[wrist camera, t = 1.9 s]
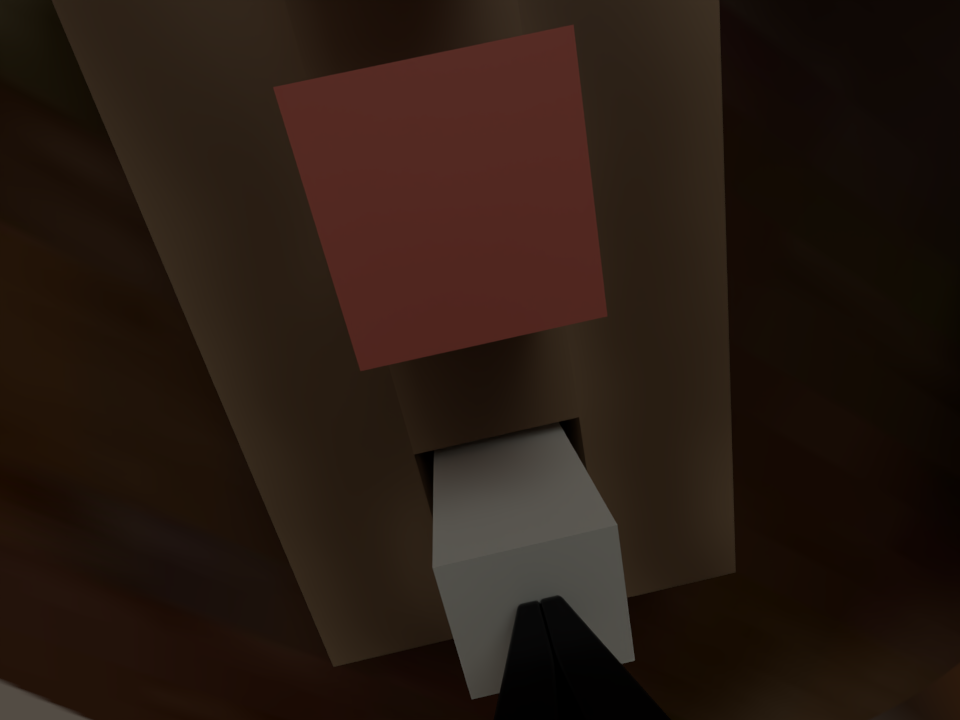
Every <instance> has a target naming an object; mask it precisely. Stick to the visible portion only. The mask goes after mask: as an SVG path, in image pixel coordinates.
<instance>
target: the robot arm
mask: <svg viewBox="0 0 960 720" xmlns="http://www.w3.org/2000/svg"><path fill="white" fill-rule="evenodd" d="M494 720H671V719H670V718H669V717H668V716H667V715H666V714H665V713H664V712H663V710H662V709H661V708H660V707H659V706H658V705H657V704H656V702H655V701H654V700H653V699H652V698H651V697H650V696H649V695H648V693H647V692H646V691H645V690H644V689H643V688H642V687H641V686H640V684H639V683H638V682H637V681H636V680H635V679H634V678H633V676H632V675H631V674H630V673H629V672H628V671H627V670H626V669H625V667H624V666H623V665H622V664H621V663H620V662H619V661H618V660H617V658H616V657H615V656H614V655H613V654H612V653H611V652H610V650H609V649H608V648H607V647H606V646H605V645H604V644H603V643H602V641H601V640H600V639H599V638H598V637H597V636H596V635H595V633H594V632H593V631H592V630H591V629H590V628H589V627H588V626H587V624H586V623H585V622H584V621H583V620H582V619H581V618H580V617H579V615H578V614H577V613H576V612H575V611H574V610H573V609H572V607H571V606H570V605H569V604H568V603H567V602H566V601H565V600H564V598H563V597H561V596H559V595H556V596H552V597H547V598H543V599H542V600H541V601H540V603H539V602H538V601H537V600H535V601H530V602H526V603H522V604H520V605H519V606H518V608H517V611H516V616H515V621H514V626H513V630H512V635H511V640H510V645H509V650H508V654H507V659H506V664H505V669H504V673H503V678H502V683H501V688H500V693H499V697H498V702H497V707H496V712H495V716H494Z"/></svg>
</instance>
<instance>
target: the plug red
mask: <svg viewBox="0 0 960 720" xmlns="http://www.w3.org/2000/svg"><path fill="white" fill-rule="evenodd" d="M273 89H274V92H275V95H276V99H277V102H278V105H279V108H280V112H281V115H282V118H283V121H284V125H285V128H286V131H287V134H288V137H289V141H290V144H291V147H292V150H293V154H294V157H295V160H296V163H297V167H298V170H299V173H300V176H301V180H302V183H303V186H304V189H305V193H306V196H307V199H308V202H309V206H310V209H311V212H312V215H313V219H314V222H315V225H316V228H317V232H318V235H319V238H320V241H321V245H322V248H323V251H324V254H325V258H326V261H327V264H328V267H329V271H330V274H331V277H332V280H333V284H334V287H335V290H336V293H337V297H338V300H339V303H340V306H341V310H342V313H343V316H344V319H345V323H346V326H347V329H348V332H349V336H350V339H351V342H352V345H353V349H354V352H355V355H356V358H357V362H358V365H359V368H360V371H364V370H368V369H373V368H377V367H382V366H386V365H391V364H395V363H400V362H404V361H409V360H413V359H418V358H422V357H427V356H431V355H436V354H440V353H445V352H449V351H454V350H458V349H463V348H467V347H472V346H476V345H481V344H485V343H490V342H494V341H499V340H503V339H508V338H512V337H517V336H521V335H526V334H530V333H535V332H539V331H544V330H548V329H553V328H557V327H562V326H566V325H571V324H575V323H580V322H584V321H589V320H593V319H598V318H602V317H607V308H606V299H605V291H604V282H603V273H602V265H601V256H600V248H599V239H598V230H597V222H596V213H595V205H594V196H593V187H592V179H591V170H590V162H589V153H588V144H587V136H586V127H585V119H584V110H583V101H582V93H581V84H580V76H579V67H578V58H577V50H576V41H575V33H574V25H569V26H564V27H559V28H555V29H550V30H545V31H540V32H535V33H531V34H526V35H521V36H516V37H511V38H507V39H502V40H497V41H492V42H487V43H483V44H478V45H473V46H468V47H463V48H459V49H454V50H449V51H444V52H439V53H435V54H430V55H425V56H420V57H416V58H411V59H406V60H401V61H396V62H392V63H387V64H382V65H377V66H372V67H368V68H363V69H358V70H353V71H348V72H344V73H339V74H334V75H329V76H324V77H320V78H315V79H310V80H305V81H300V82H296V83H291V84H286V85H281V86H276V87H273Z"/></svg>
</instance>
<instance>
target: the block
mask: <svg viewBox="0 0 960 720" xmlns="http://www.w3.org/2000/svg"><path fill="white" fill-rule="evenodd" d="M52 2H53V4H54V7H55V9H56V12H57V14H58V16H59V19H60V21H61V23H62V26H63V28H64V30H65V33H66V35H67V38H68V40H69V42H70V45H71V47H72V49H73V52H74V54H75V56H76V59H77V61H78V64H79V66H80V68H81V71H82V73H83V75H84V78H85V80H86V83H87V85H88V87H89V90H90V92H91V94H92V97H93V99H94V101H95V104H96V106H97V109H98V111H99V113H100V116H101V118H102V120H103V123H104V125H105V127H106V130H107V132H108V135H109V137H110V139H111V142H112V144H113V146H114V149H115V151H116V153H117V156H118V158H119V161H120V163H121V165H122V168H123V170H124V172H125V175H126V177H127V180H128V182H129V184H130V187H131V189H132V191H133V194H134V196H135V198H136V201H137V203H138V206H139V208H140V210H141V213H142V215H143V217H144V220H145V222H146V224H147V227H148V229H149V232H150V234H151V236H152V239H153V241H154V243H155V246H156V248H157V250H158V253H159V255H160V258H161V260H162V262H163V265H164V267H165V269H166V272H167V274H168V276H169V279H170V281H171V284H172V286H173V288H174V291H175V293H176V295H177V298H178V300H179V303H180V305H181V307H182V310H183V312H184V314H185V317H186V319H187V321H188V324H189V326H190V329H191V331H192V333H193V336H194V338H195V340H196V343H197V345H198V347H199V350H200V352H201V355H202V357H203V359H204V362H205V364H206V366H207V369H208V371H209V373H210V376H211V378H212V381H213V383H214V385H215V388H216V390H217V392H218V395H219V397H220V400H221V402H222V404H223V407H224V409H225V411H226V414H227V416H228V418H229V421H230V423H231V426H232V428H233V430H234V433H235V435H236V437H237V440H238V442H239V444H240V447H241V449H242V452H243V454H244V456H245V459H246V461H247V463H248V466H249V468H250V470H251V473H252V475H253V478H254V480H255V482H256V485H257V487H258V489H259V492H260V494H261V497H262V499H263V501H264V504H265V506H266V508H267V511H268V513H269V515H270V518H271V520H272V523H273V525H274V527H275V530H276V532H277V534H278V537H279V539H280V541H281V544H282V546H283V549H284V551H285V553H286V556H287V558H288V560H289V563H290V565H291V567H292V570H293V572H294V575H295V577H296V579H297V582H298V584H299V586H300V589H301V591H302V594H303V596H304V598H305V601H306V603H307V605H308V608H309V610H310V612H311V615H312V617H313V620H314V622H315V624H316V627H317V629H318V631H319V634H320V636H321V638H322V641H323V643H324V646H325V648H326V650H327V653H328V655H329V657H330V660H331V662H332V664H333V667H335V666H339V665H343V664H348V663H352V662H356V661H360V660H365V659H369V658H373V657H377V656H382V655H386V654H390V653H394V652H399V651H403V650H407V649H411V648H416V647H420V646H424V645H428V644H433V643H437V642H441V641H445V640H450V639H453V635H452V632H451V629H450V625H449V622H448V618H447V615H446V612H445V608H444V605H443V602H442V598H441V595H440V592H439V588H438V585H437V581H436V578H435V575H434V571H433V568H432V561H433V478H434V450H436V449H440V448H445V447H449V446H454V445H458V444H463V443H467V442H471V441H476V440H480V439H485V438H489V437H493V436H498V435H502V434H507V433H511V432H515V431H520V430H524V429H529V428H533V427H538V426H542V425H546V424H551V423H555V422H559V424H560V426H561V427H562V429H563V431H564V432H565V434H566V436H567V438H568V439H569V441H570V443H571V445H572V446H573V448H574V450H575V452H576V453H577V455H578V457H579V459H580V460H581V462H582V464H583V466H584V467H585V469H586V471H587V473H588V474H589V476H590V478H591V480H592V481H593V483H594V485H595V487H596V488H597V490H598V492H599V494H600V495H601V497H602V499H603V501H604V502H605V504H606V506H607V508H608V509H609V511H610V513H611V515H612V516H613V518H614V520H615V521H616V523H617V525H618V533H619V541H620V549H621V556H622V564H623V572H624V580H625V588H626V595H627V598H628V597H632V596H637V595H641V594H645V593H649V592H654V591H658V590H662V589H666V588H671V587H675V586H679V585H683V584H688V583H692V582H696V581H700V580H705V579H709V578H713V577H717V576H722V575H726V574H730V573H734V572H736V571H735V536H734V501H733V466H732V431H731V396H730V361H729V326H728V291H727V256H726V221H725V186H724V151H723V116H722V81H721V46H720V11H719V0H52ZM569 25H574V33H575V41H576V50H577V58H578V67H579V76H580V84H581V93H582V101H583V110H584V119H585V127H586V136H587V144H588V153H589V162H590V170H591V179H592V187H593V196H594V205H595V213H596V222H597V230H598V239H599V248H600V256H601V265H602V273H603V282H604V291H605V299H606V308H607V317H602V318H598V319H593V320H589V321H584V322H580V323H575V324H571V325H566V326H562V327H557V328H553V329H548V330H544V331H539V332H535V333H530V334H526V335H521V336H517V337H512V338H508V339H503V340H499V341H494V342H490V343H485V344H481V345H476V346H472V347H467V348H463V349H458V350H454V351H449V352H445V353H440V354H436V355H431V356H427V357H422V358H418V359H413V360H409V361H404V362H400V363H395V364H391V365H386V366H382V367H377V368H373V369H368V370H364V371H360V368H359V365H358V362H357V358H356V355H355V352H354V349H353V345H352V342H351V339H350V336H349V332H348V329H347V326H346V323H345V319H344V316H343V313H342V310H341V306H340V303H339V300H338V297H337V293H336V290H335V287H334V284H333V280H332V277H331V274H330V271H329V267H328V264H327V261H326V258H325V254H324V251H323V248H322V245H321V241H320V238H319V235H318V232H317V228H316V225H315V222H314V219H313V215H312V212H311V209H310V206H309V202H308V199H307V196H306V193H305V189H304V186H303V183H302V180H301V176H300V173H299V170H298V167H297V163H296V160H295V157H294V154H293V150H292V147H291V144H290V141H289V137H288V134H287V131H286V128H285V125H284V121H283V118H282V115H281V112H280V108H279V105H278V102H277V99H276V95H275V92H274V89H273V87H276V86H281V85H286V84H291V83H296V82H300V81H305V80H310V79H315V78H320V77H324V76H329V75H334V74H339V73H344V72H348V71H353V70H358V69H363V68H368V67H372V66H377V65H382V64H387V63H392V62H396V61H401V60H406V59H411V58H416V57H420V56H425V55H430V54H435V53H439V52H444V51H449V50H454V49H459V48H463V47H468V46H473V45H478V44H483V43H487V42H492V41H497V40H502V39H507V38H511V37H516V36H521V35H526V34H531V33H535V32H540V31H545V30H550V29H555V28H559V27H564V26H569Z"/></svg>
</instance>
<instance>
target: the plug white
mask: <svg viewBox="0 0 960 720" xmlns="http://www.w3.org/2000/svg"><path fill="white" fill-rule="evenodd" d="M432 568H433V571H434V575H435V578H436V581H437V585H438V588H439V592H440V595H441V598H442V602H443V605H444V608H445V612H446V615H447V618H448V622H449V625H450V629H451V632H452V635H453V639H454V642H455V645H456V649H457V652H458V655H459V659H460V662H461V665H462V669H463V672H464V676H465V679H466V682H467V686H468V689H469V692H470V696H471V699H476V698H480V697H484V696H488V695H493V694H497V693H500V688H501V683H502V678H503V673H504V669H505V664H506V659H507V654H508V650H509V645H510V640H511V635H512V630H513V626H514V621H515V616H516V611H517V608H518V606H519V605H520V604H522V603H526V602H530V601H535V600H537V601H538V602H539V603H540V601H541V600H542V599H543V598H547V597H552V596H556V595H559V596H561V597H563V598H564V600H565V601H566V602H567V603H568V604H569V605H570V606H571V607H572V609H573V610H574V611H575V612H576V613H577V614H578V615H579V617H580V618H581V619H582V620H583V621H584V622H585V623H586V624H587V626H588V627H589V628H590V629H591V630H592V631H593V632H594V633H595V635H596V636H597V637H598V638H599V639H600V640H601V641H602V643H603V644H604V645H605V646H606V647H607V648H608V649H609V650H610V652H611V653H612V654H613V655H614V656H615V657H616V658H617V660H618V661H619V662H620V663H621V664H623V663H627V662H631V661H635V658H634V650H633V642H632V634H631V627H630V619H629V611H628V603H627V595H626V588H625V580H624V572H623V564H622V556H621V549H620V541H619V533H618V525H617V523H616V521H615V520H614V518H613V516H612V515H611V513H610V511H609V509H608V508H607V506H606V504H605V502H604V501H603V499H602V497H601V495H600V494H599V492H598V490H597V488H596V487H595V485H594V483H593V481H592V480H591V478H590V476H589V474H588V473H587V471H586V469H585V467H584V466H583V464H582V462H581V460H580V459H579V457H578V455H577V453H576V452H575V450H574V448H573V446H572V445H571V443H570V441H569V439H568V438H567V436H566V434H565V432H564V431H563V429H562V427H561V426H560V424H559V422H555V423H551V424H546V425H542V426H538V427H533V428H529V429H524V430H520V431H515V432H511V433H507V434H502V435H498V436H493V437H489V438H485V439H480V440H476V441H471V442H467V443H463V444H458V445H454V446H449V447H445V448H440V449H436V450H434V478H433V561H432Z"/></svg>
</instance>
